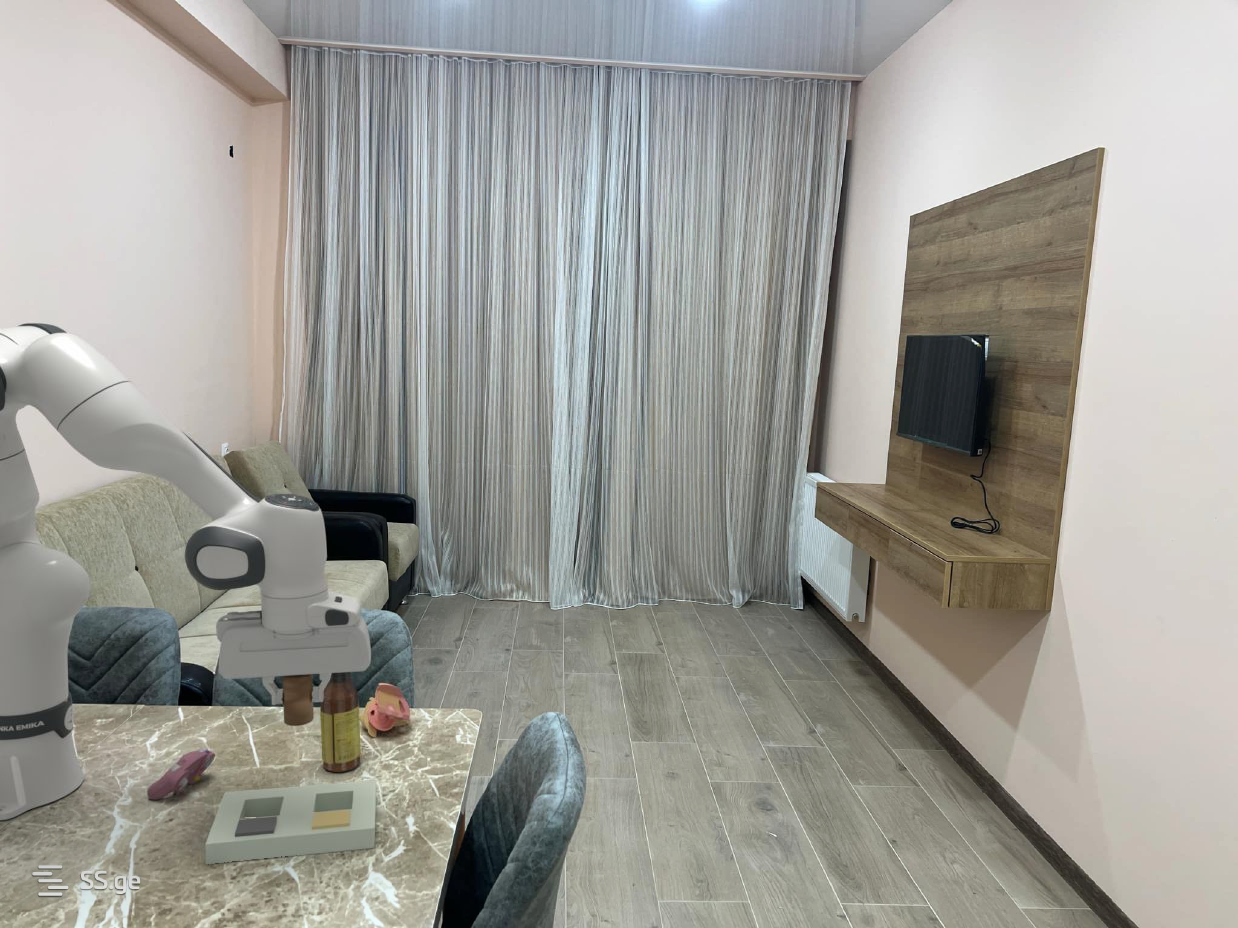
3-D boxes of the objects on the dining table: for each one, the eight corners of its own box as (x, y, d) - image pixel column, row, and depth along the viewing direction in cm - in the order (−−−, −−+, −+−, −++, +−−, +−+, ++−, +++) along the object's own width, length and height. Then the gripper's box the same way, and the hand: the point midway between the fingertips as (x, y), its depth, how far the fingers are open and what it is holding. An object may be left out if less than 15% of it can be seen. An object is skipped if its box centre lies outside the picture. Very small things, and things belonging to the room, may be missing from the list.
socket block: (205, 864, 117) (205, 840, 116) (224, 810, 130) (224, 788, 130) (374, 847, 123) (374, 824, 122) (376, 797, 136) (376, 776, 136)
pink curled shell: (347, 740, 156) (351, 690, 162) (391, 751, 163) (394, 702, 169) (379, 724, 152) (383, 673, 158) (423, 736, 159) (425, 687, 164)
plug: (281, 726, 122) (280, 679, 121) (286, 714, 126) (284, 668, 125) (311, 724, 123) (310, 678, 122) (315, 712, 127) (313, 667, 125)
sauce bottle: (366, 758, 149) (367, 647, 146) (351, 775, 143) (352, 660, 140) (329, 754, 149) (329, 644, 147) (313, 772, 143) (313, 657, 141)
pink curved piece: (165, 813, 132) (183, 777, 130) (142, 796, 132) (159, 761, 131) (208, 782, 141) (224, 748, 140) (185, 767, 142) (202, 733, 141)
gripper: (210, 620, 116) (214, 716, 118) (368, 613, 120) (370, 706, 123) (220, 605, 122) (224, 697, 124) (370, 599, 127) (372, 688, 129)
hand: (298, 701), depth 123 cm, fingers closed on plug, 4 cm apart
